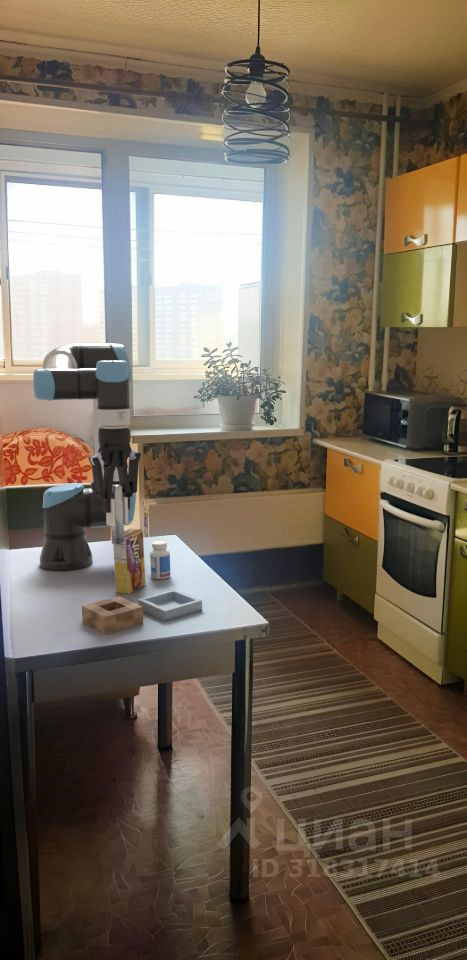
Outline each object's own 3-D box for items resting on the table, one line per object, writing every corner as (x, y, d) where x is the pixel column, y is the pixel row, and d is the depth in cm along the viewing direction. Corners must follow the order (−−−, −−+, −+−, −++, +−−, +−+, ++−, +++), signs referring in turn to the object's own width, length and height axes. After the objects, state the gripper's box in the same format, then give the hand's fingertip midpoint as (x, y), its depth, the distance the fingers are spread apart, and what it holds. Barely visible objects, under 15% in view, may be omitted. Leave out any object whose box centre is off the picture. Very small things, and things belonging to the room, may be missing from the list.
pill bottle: (172, 573, 206) (171, 540, 205) (168, 579, 201) (167, 545, 199) (152, 573, 207) (152, 539, 205) (148, 579, 202) (147, 544, 200)
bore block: (82, 622, 170) (81, 605, 169) (119, 612, 177) (118, 596, 176) (105, 634, 163) (105, 617, 162) (143, 623, 169) (142, 606, 169)
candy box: (132, 582, 199) (130, 527, 196) (146, 584, 197) (144, 529, 195) (114, 592, 191) (112, 535, 188) (128, 594, 189) (127, 537, 186)
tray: (138, 609, 178) (138, 599, 178) (174, 599, 186) (174, 589, 185) (165, 621, 170) (165, 611, 170) (202, 610, 178) (202, 600, 177)
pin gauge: (109, 542, 178) (107, 485, 175) (120, 540, 180) (118, 484, 177) (116, 544, 176) (114, 487, 173) (126, 542, 178) (125, 485, 175)
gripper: (93, 430, 165) (96, 532, 169) (151, 425, 175) (153, 521, 179) (75, 428, 170) (80, 526, 174) (133, 423, 181) (136, 516, 185)
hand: (117, 524), depth 177 cm, fingers closed on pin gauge, 3 cm apart
